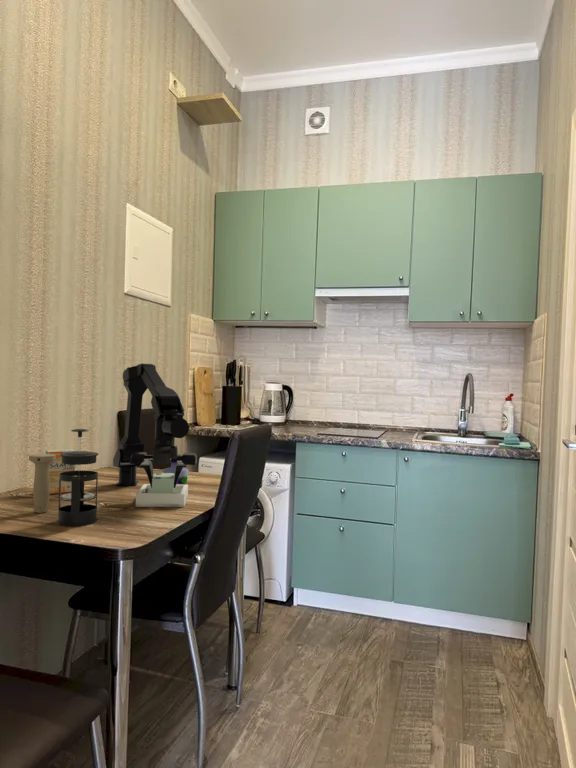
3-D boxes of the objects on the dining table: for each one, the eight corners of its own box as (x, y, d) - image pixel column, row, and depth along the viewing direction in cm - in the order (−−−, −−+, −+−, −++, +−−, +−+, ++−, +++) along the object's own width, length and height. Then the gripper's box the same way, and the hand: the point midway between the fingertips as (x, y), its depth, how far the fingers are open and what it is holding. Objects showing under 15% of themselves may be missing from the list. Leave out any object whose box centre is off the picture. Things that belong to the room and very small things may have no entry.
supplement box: (46, 494, 167) (47, 451, 167) (43, 491, 171) (45, 449, 171) (75, 492, 171) (76, 450, 171) (71, 489, 175) (73, 448, 175)
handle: (49, 514, 143) (51, 456, 143) (24, 514, 143) (26, 456, 143) (56, 510, 148) (58, 454, 148) (32, 509, 148) (33, 453, 148)
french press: (60, 516, 141) (63, 427, 141) (99, 515, 144) (101, 427, 144) (53, 528, 130) (55, 431, 130) (95, 527, 132) (97, 431, 132)
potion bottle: (184, 494, 173) (186, 456, 173) (157, 493, 174) (159, 455, 174) (191, 489, 182) (192, 452, 182) (165, 488, 182) (166, 451, 182)
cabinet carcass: (143, 495, 169) (143, 484, 169) (187, 496, 170) (188, 484, 170) (135, 506, 155) (135, 493, 155) (183, 506, 156) (184, 494, 156)
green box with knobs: (153, 488, 167) (154, 472, 167) (174, 487, 168) (174, 472, 168) (151, 494, 157) (152, 478, 157) (173, 494, 158) (173, 478, 158)
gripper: (127, 437, 153) (125, 493, 154) (195, 438, 155) (193, 493, 155) (134, 433, 165) (132, 485, 165) (197, 434, 166) (195, 486, 167)
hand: (163, 487), depth 163 cm, fingers closed on green box with knobs, 6 cm apart
